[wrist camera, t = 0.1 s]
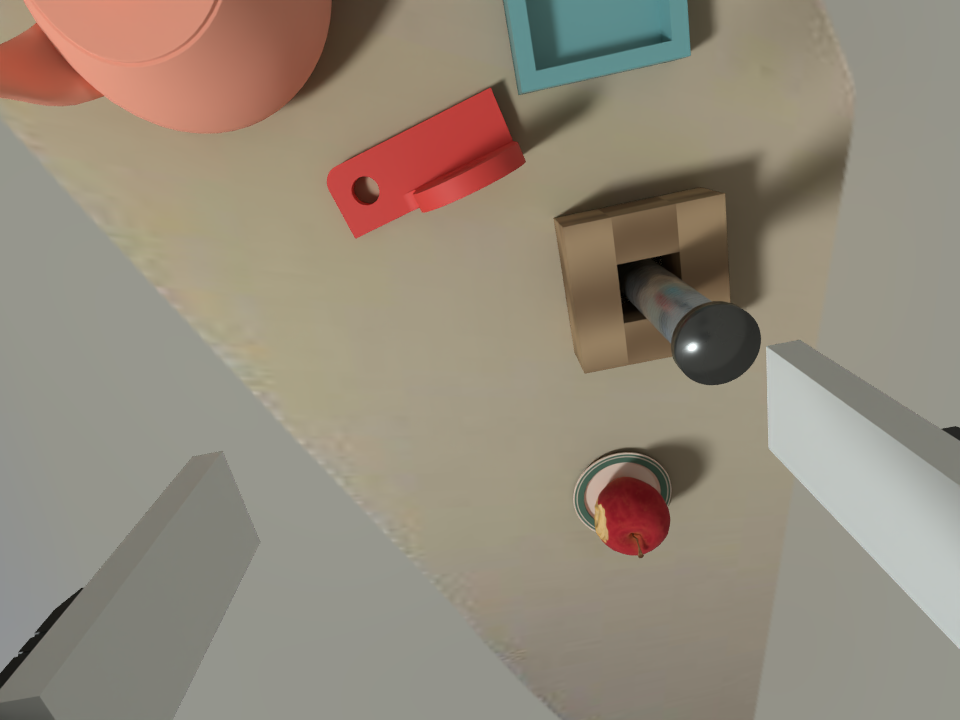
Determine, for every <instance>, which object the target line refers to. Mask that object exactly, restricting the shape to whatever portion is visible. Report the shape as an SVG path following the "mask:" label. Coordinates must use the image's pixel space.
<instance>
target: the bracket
mask: <svg viewBox="0 0 960 720" xmlns="http://www.w3.org/2000/svg"><path fill="white" fill-rule="evenodd" d="M525 162H526V161H525V158H524V156H523V154H522V151H521V149H520V146H519V144H518V142H515V141H513V140H512V137H511V135H510V133H509V130H508V128H507V125H506V123H505V121H504V118H503V116H502V113H501V111H500V109H499V106H498V104H497V101H496V99H495V97H494V94H493V92H492V89H491V88H489V89H487V90H485V91H483V92H481V93H479V94H477V95H475V96H473V97H471V98H469V99H467V100H465V101H463V102H461V103H459V104H457V105H455V106H453V107H451V108H449V109H447V110H445V111H443V112H442V113H440V114H438V115H436V116H434V117H432V118H430V119H428V120H426V121H424V122H422V123H420V124H418V125H416V126H414V127H412V128H410V129H408V130H406V131H404V132H402V133H400V134H398V135H396V136H394V137H393V138H391V139H389V140H387V141H385V142H383V143H381V144H379V145H377V146H375V147H373V148H371V149H369V150H367V151H365V152H363V153H361V154H359V155H357V156H355V157H353V158H351V159H349V160H347V161H345V162H344V163H342V164H340V165H338V166H336V167H334V168H333V169H332V170H331V171H330V172H329V174H328V177H327V186H328V189H329V191H330V193H331V195H332V197H333V198H334V200H335V202H336V204H337V206H338V208H339V209H340V211H341V213H342V215H343V217H344V219H345V220H346V222H347V224H348V226H349V228H350V230H351V231H352V233H353V235H354V237H355V239H356V238H358V237H360V236H362V235H364V234H366V233H368V232H370V231H372V230H374V229H376V228H378V227H380V226H382V225H384V224H386V223H388V222H390V221H392V220H395V219H397V218H399V217H401V216H403V215H405V214H407V213H409V212H411V211H413V210H415V209H417V208H420V209H421V211H422V212H428V211H431V210H434V209H437V208H440V207H442V206H445V205H447V204H449V203H452V202H454V201H456V200H458V199H461V198H463V197H465V196H467V195H469V194H471V193H473V192H475V191H478V190H480V189H482V188H484V187H485V186H487V185H489V184H491V183H493V182H495V181H497V180H499V179H501V178H502V177H504V176H506V175H508V174H509V173H511V172H513V171H514V170H516V169H517V168H519V167H520V166H522V165H523V164H524V163H525ZM363 176H366V177H370V178H372V179H373V180H375V181H376V183H377V184H378V186H379V190H380V193H379V197H378V199H377V201H376V202H374V203H364V202H362V201H360V200H359V199H358V198H357V196H356V194H355V191H354V185H355V182H356V181H357V179H358V178H360V177H363Z"/></svg>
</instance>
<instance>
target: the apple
mask: <svg viewBox="0 0 960 720" xmlns="http://www.w3.org/2000/svg"><path fill="white" fill-rule="evenodd" d="M671 490H672V487H671V482H670V479H669V476H668V474H667V472H666V471H665V469H664V468H663V467H662V466H661V465H660V464H659V463H658V462H657V461H655V460H654V459H652V458H650V457H648V456H646V455H643V454H639V453H632V452H622V453H615V454H611V455H608V456H605V457H603V458H601V459H599V460H597V461H596V462H594V463H593V464H591V465H590V466H589V467H588V468H587V469H586V470H585V471H584V472H583V473H582V475H581V476H580V477H579V479H578V481H577V483H576V486H575V489H574V495H573V501H574V507H575V511H576V513H577V515H578V517H579V518H580V520H581V521H582V522H583V523H584V524H585V525H586V526H587V527H589V528H590V529H592V530H593V531H595V532H596V533H597V534H598V536H599V537H600V539H601V540H602V541H603V542H604V543H605V544H606V545H607V546H608V547H610V548H611V549H613V550H614V551H617V552H620V553H623V554H627V555H638V557H639V558H642V557H643V556H644V555H643V554H645V553H647V552H650V551H652V550H653V549H655V548H656V547H657V546H659V545H660V544H661V543H662V542H663V540H664V539H665V538H666V536H667V534H668V531H669V526H670V514H669V509H668V505H669V502H670V499H671Z"/></svg>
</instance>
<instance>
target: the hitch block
mask: <svg viewBox="0 0 960 720" xmlns="http://www.w3.org/2000/svg"><path fill="white" fill-rule="evenodd" d="M554 223H555V229H556V236H557V242H558V249H559V255H560V262H561V268H562V274H563V281H564V287H565V294H566V300H567V307H568V313H569V320H570V326H571V333H572V339H573V345H574V352H575V354H576V356H577V358H578V361H579V363H580V365H581V367H582V369H583V371H584V373H590V372H595V371H600V370H606V369H611V368H616V367H621V366H626V365H631V364H636V363H641V362H646V361H651V360H656V359H662V358H667V357H672V352H671V343H670V342H669V341H668V340H667V339H666V338H665V337H664V336H663V335H662V334H661V333H660V332H659V331H658V330H657V329H656V328H655V327H654V326H653V325H652V324H651V322H650V321H649V320H648V319H647V318H646V317H645V316H644V315H643V314H642V313H641V312H640V311H639V310H638V309H637V308H636V307H635V306H634V305H633V304H632V303H631V302H629V303H624V304H621V296H620V288H619V279H618V271H617V265H618V264H623V263H628V262H632V261H637V260H642V259H647V258H652V257H657V256H662V267H664V268H665V269H667V270H668V271H669V272H671V273H672V274H674V275H675V276H677V277H678V278H679V279H681V280H682V281H684V282H685V283H687V284H688V285H689V286H691V287H692V288H694V289H695V290H696V291H698V292H699V293H701V294H702V295H704V296H705V297H706V298H708V299H709V300H711V301H724V302H729V303H730V285H729V264H728V243H727V222H726V202H725V193H721V192H717V191H713V190H709V189H705V188H701V187H700V188H695V189H690V190H685V191H681V192H676V193H671V194H666V195H662V196H657V197H652V198H647V199H643V200H638V201H633V202H628V203H624V204H619V205H614V206H609V207H605V208H600V209H595V210H590V211H586V212H581V213H576V214H571V215H567V216H562V217H557V218H554Z"/></svg>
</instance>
